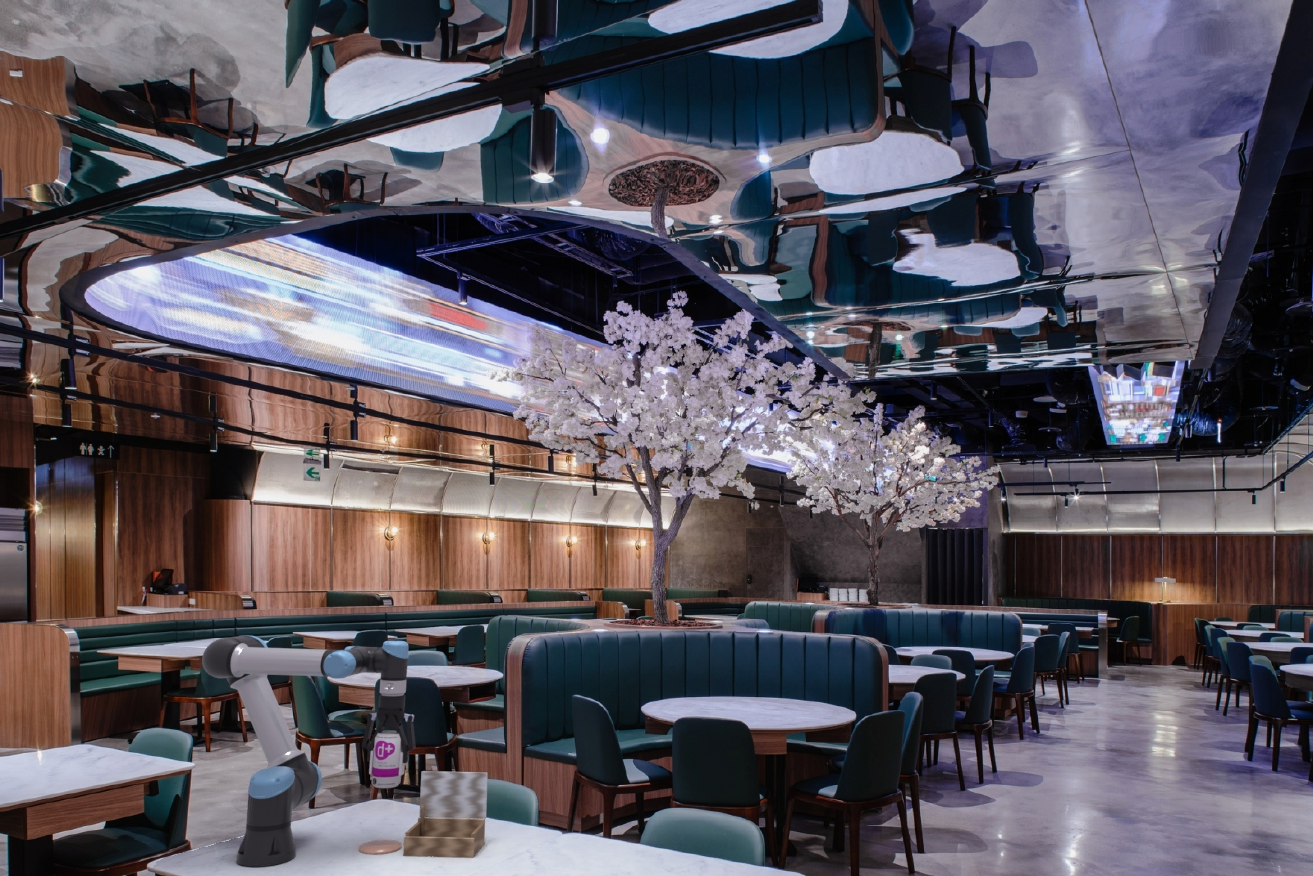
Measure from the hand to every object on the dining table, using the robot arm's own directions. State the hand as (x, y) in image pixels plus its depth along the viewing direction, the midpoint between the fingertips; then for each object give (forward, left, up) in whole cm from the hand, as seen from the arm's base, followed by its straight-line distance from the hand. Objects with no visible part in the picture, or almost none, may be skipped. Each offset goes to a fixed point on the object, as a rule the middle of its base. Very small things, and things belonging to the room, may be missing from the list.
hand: (386, 773), depth 262 cm
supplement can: (0, 0, -3) cm, 3 cm away
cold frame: (+18, 0, -21) cm, 28 cm away
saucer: (-1, 0, -21) cm, 21 cm away
